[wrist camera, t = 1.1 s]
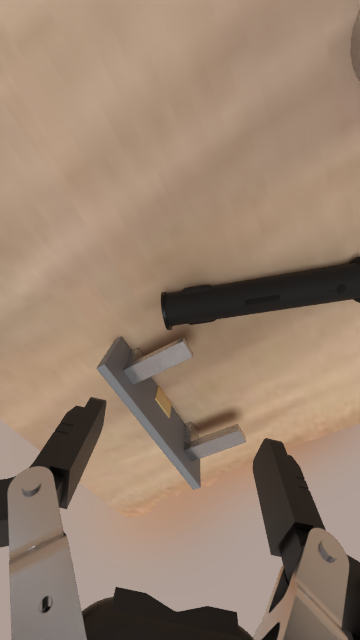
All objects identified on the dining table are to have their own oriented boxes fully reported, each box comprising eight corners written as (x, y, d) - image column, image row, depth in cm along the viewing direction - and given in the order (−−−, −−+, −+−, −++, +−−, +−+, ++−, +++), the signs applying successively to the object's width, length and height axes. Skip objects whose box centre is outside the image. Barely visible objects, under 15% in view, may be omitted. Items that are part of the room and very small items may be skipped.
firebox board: (123, 334, 36) (105, 363, 29) (200, 441, 44) (201, 487, 36) (116, 338, 37) (96, 368, 29) (193, 444, 44) (193, 489, 36)
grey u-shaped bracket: (184, 323, 35) (182, 341, 30) (239, 413, 41) (246, 442, 35) (133, 349, 37) (122, 370, 32) (192, 431, 43) (191, 461, 38)
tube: (359, 251, 31) (392, 258, 25) (355, 294, 33) (386, 308, 27) (163, 284, 33) (158, 296, 28) (171, 322, 36) (167, 339, 30)
